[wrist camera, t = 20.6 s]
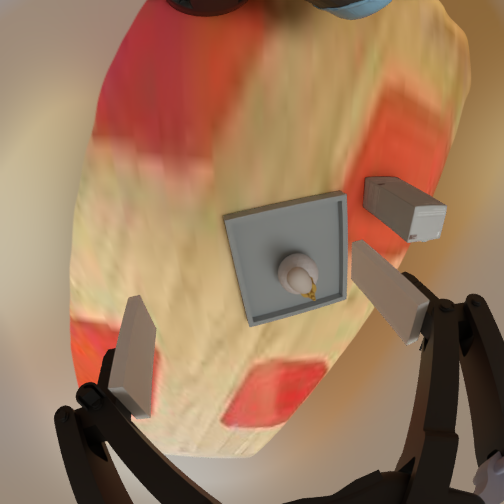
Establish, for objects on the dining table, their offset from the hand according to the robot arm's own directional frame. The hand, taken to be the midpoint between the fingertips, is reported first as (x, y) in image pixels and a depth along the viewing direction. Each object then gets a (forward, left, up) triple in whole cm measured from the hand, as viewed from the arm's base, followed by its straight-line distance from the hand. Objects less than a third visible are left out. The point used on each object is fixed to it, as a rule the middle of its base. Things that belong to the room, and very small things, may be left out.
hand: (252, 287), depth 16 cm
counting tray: (+19, +11, -32) cm, 39 cm away
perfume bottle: (+19, +10, -31) cm, 38 cm away
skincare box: (+9, +31, -32) cm, 45 cm away
